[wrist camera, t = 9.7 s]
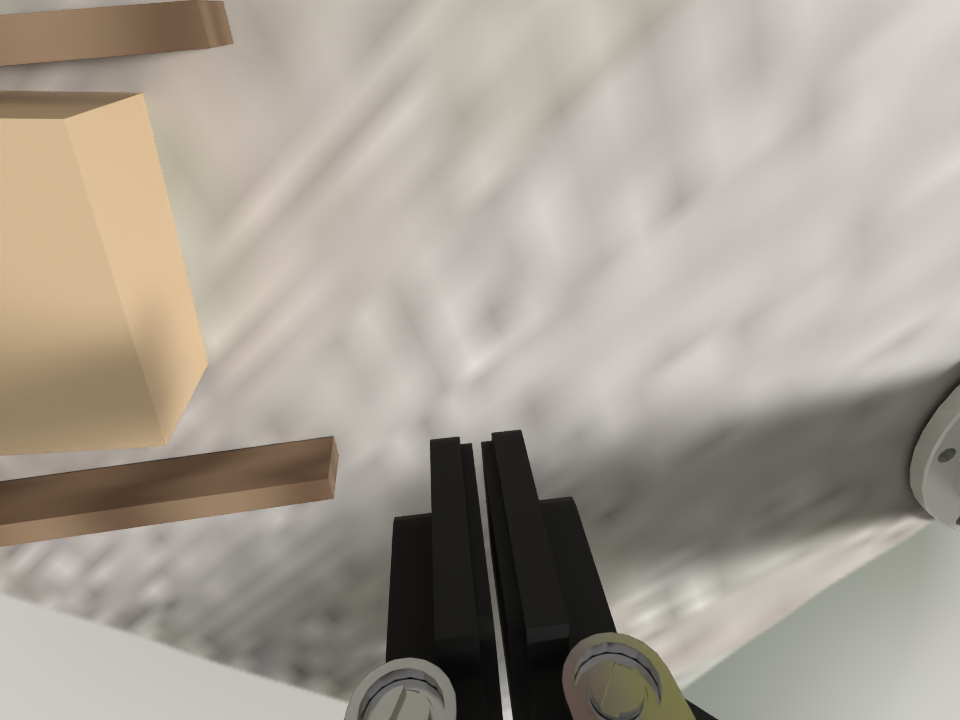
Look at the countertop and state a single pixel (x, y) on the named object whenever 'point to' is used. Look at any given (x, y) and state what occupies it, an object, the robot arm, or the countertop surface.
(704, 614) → the countertop surface
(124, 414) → the kraft carton
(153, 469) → the stand
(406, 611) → the robot arm
